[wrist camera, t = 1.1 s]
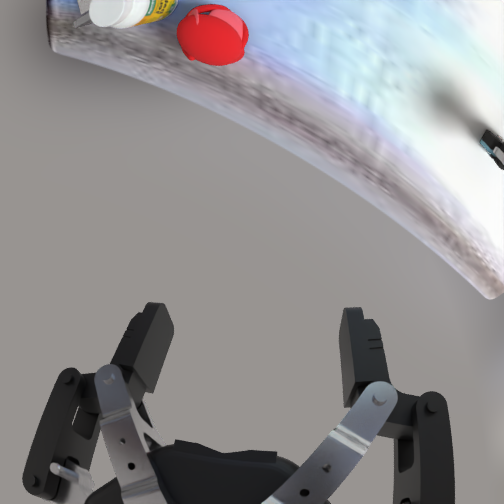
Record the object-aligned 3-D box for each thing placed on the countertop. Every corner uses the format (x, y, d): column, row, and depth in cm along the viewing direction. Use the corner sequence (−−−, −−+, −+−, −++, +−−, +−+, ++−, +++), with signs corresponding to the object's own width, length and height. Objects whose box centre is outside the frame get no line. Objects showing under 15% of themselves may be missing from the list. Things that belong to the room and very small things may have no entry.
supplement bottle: (135, -12, 19) (79, -7, 13) (177, -24, 18) (127, -29, 12) (140, 26, 23) (87, 40, 17) (182, 16, 22) (134, 24, 16)
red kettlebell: (160, 20, 20) (162, 68, 22) (199, -9, 17) (203, 41, 18) (218, 35, 26) (222, 78, 28) (258, 15, 22) (265, 61, 24)
